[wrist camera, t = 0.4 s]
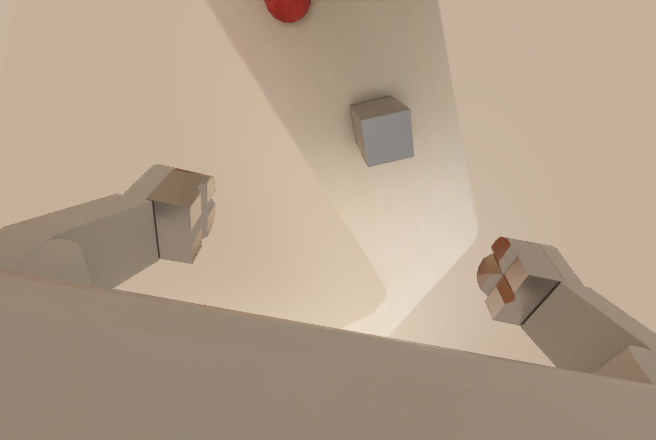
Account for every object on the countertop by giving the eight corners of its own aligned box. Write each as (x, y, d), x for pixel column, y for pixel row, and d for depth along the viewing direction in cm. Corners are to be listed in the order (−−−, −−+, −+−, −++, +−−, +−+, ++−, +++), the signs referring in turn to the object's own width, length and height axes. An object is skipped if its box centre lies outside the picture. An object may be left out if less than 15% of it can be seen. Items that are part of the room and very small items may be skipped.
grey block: (349, 105, 52) (360, 120, 44) (390, 95, 52) (410, 109, 43) (356, 145, 56) (367, 167, 47) (395, 136, 55) (413, 156, 47)
